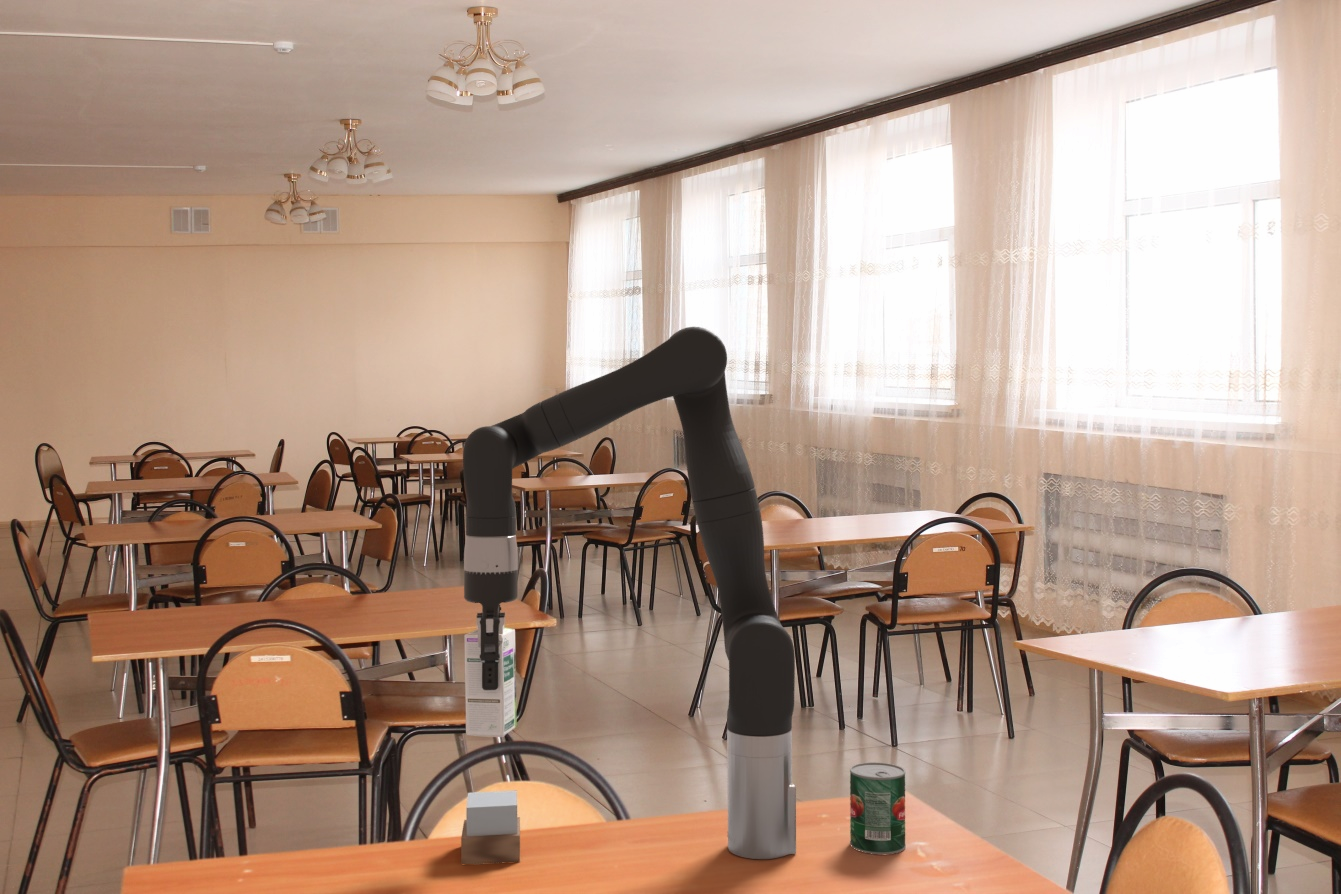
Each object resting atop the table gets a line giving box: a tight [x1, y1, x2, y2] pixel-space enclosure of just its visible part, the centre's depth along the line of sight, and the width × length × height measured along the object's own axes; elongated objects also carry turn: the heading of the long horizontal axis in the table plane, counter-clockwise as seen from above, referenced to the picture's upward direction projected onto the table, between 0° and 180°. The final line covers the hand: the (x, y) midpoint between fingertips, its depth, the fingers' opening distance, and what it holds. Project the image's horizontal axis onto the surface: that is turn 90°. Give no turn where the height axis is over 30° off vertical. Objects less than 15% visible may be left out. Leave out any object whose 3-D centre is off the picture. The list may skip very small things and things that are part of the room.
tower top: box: [465, 790, 518, 836], centre depth 169 cm, size 7×7×4 cm
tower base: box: [460, 816, 521, 865], centre depth 169 cm, size 8×8×4 cm
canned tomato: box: [849, 761, 906, 856], centre depth 171 cm, size 8×8×11 cm
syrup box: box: [463, 626, 518, 738], centre depth 169 cm, size 6×6×14 cm
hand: (490, 683), depth 169 cm, fingers closed on syrup box, 6 cm apart
